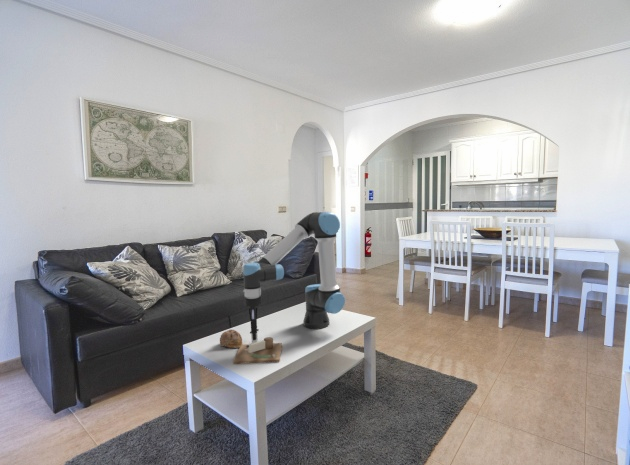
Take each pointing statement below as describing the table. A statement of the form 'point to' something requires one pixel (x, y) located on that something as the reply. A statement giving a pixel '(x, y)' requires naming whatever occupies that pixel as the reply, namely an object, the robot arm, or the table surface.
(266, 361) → the dial board
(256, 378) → the table surface
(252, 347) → the lever
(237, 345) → the seashell
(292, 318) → the table surface
